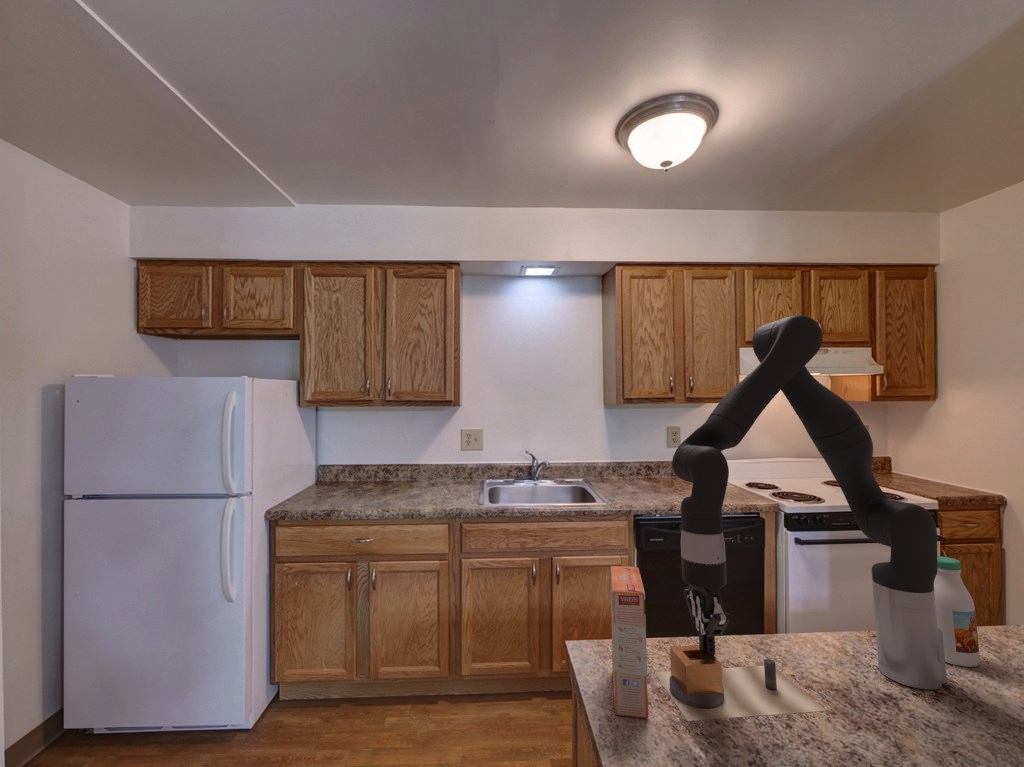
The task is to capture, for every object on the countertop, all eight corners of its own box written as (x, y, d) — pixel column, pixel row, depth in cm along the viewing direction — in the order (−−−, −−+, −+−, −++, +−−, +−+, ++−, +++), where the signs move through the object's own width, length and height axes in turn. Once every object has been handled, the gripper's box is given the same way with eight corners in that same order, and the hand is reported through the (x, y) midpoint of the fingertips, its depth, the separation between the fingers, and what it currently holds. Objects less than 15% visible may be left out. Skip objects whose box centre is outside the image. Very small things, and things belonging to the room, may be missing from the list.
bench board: (772, 672, 89) (770, 636, 90) (827, 720, 75) (824, 676, 76) (654, 680, 87) (652, 643, 88) (688, 730, 73) (686, 685, 74)
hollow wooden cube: (704, 672, 84) (703, 644, 85) (722, 693, 78) (721, 663, 79) (671, 674, 84) (669, 646, 84) (687, 696, 78) (685, 665, 78)
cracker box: (650, 721, 76) (646, 592, 78) (614, 716, 77) (610, 590, 79) (643, 674, 90) (639, 565, 91) (612, 671, 91) (609, 564, 92)
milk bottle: (938, 664, 91) (930, 562, 93) (921, 646, 99) (913, 551, 100) (989, 671, 89) (979, 566, 90) (967, 652, 96) (959, 555, 97)
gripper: (743, 566, 77) (749, 673, 75) (704, 544, 90) (708, 635, 88) (701, 568, 76) (705, 676, 75) (667, 546, 89) (671, 637, 88)
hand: (707, 654), depth 82 cm, fingers closed
